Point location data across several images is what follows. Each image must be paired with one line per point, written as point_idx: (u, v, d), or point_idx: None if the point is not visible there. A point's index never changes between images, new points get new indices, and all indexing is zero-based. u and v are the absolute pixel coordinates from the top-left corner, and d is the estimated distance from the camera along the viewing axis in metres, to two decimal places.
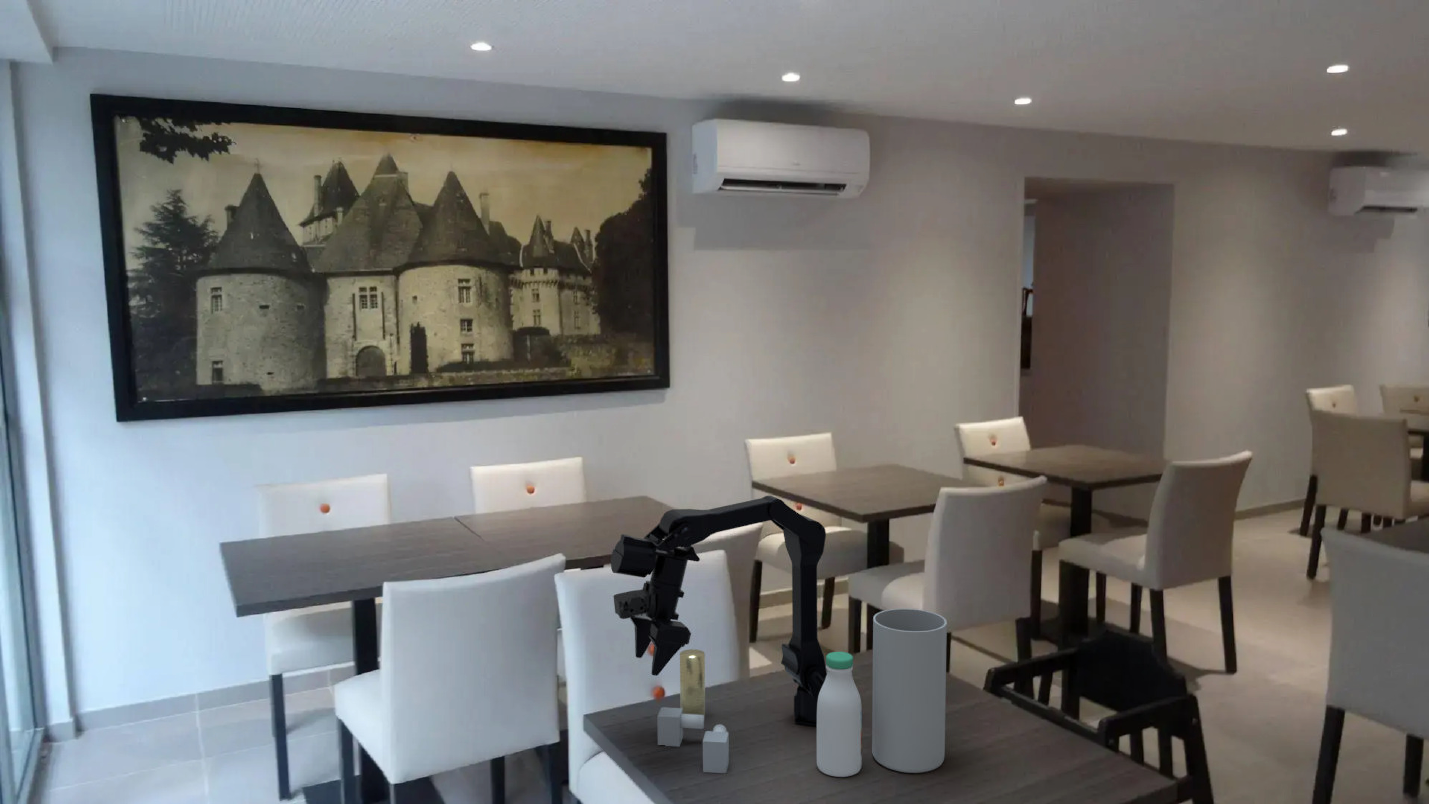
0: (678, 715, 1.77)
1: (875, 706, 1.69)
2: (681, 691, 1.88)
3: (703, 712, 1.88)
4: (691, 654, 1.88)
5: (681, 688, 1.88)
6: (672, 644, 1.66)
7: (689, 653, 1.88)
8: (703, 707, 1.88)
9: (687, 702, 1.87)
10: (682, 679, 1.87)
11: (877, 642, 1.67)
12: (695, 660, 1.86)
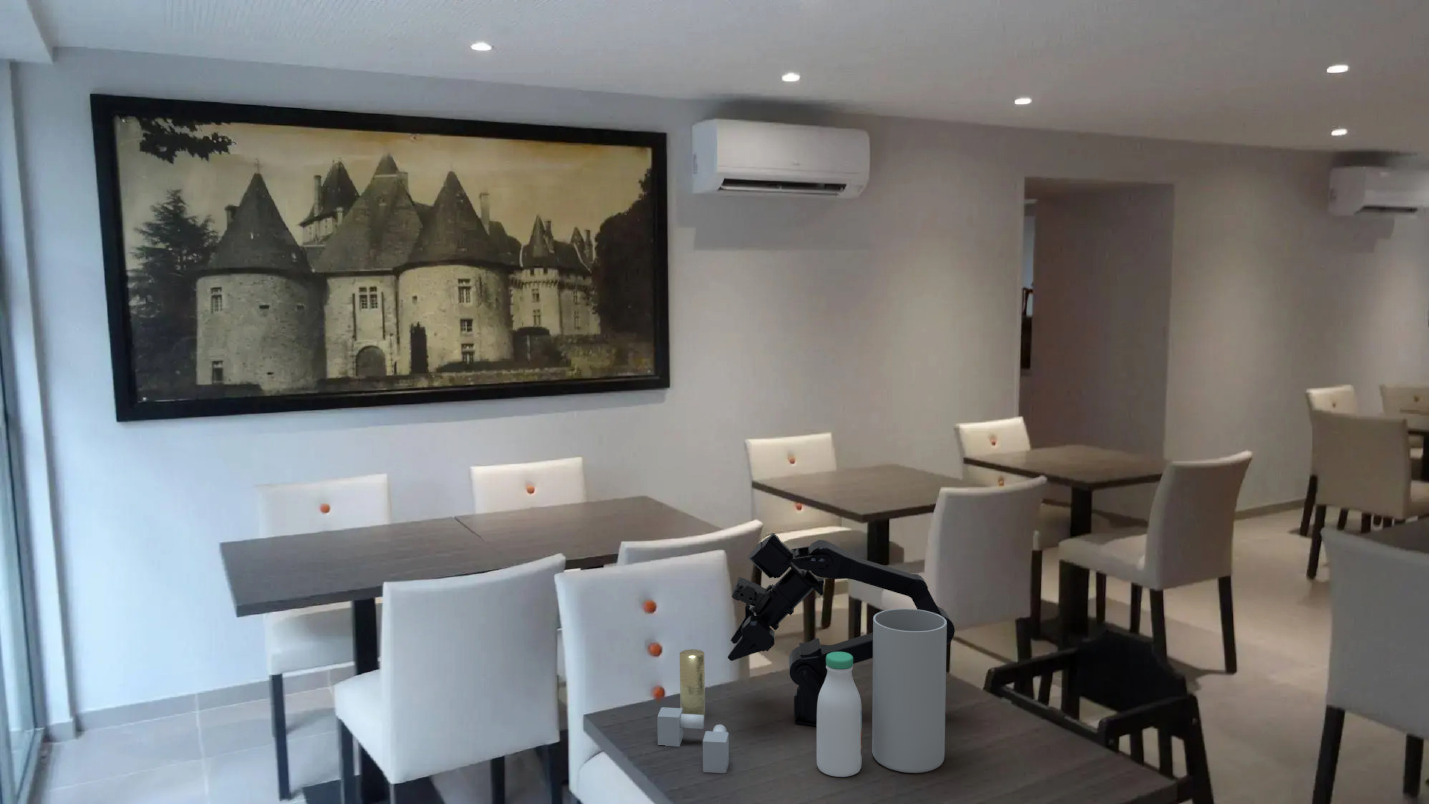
0: (678, 715, 1.77)
1: (875, 706, 1.69)
2: (681, 691, 1.88)
3: (703, 712, 1.88)
4: (691, 654, 1.88)
5: (681, 688, 1.88)
6: (754, 642, 1.78)
7: (689, 653, 1.88)
8: (703, 707, 1.88)
9: (687, 702, 1.87)
10: (682, 679, 1.87)
11: (877, 642, 1.67)
12: (694, 660, 1.86)
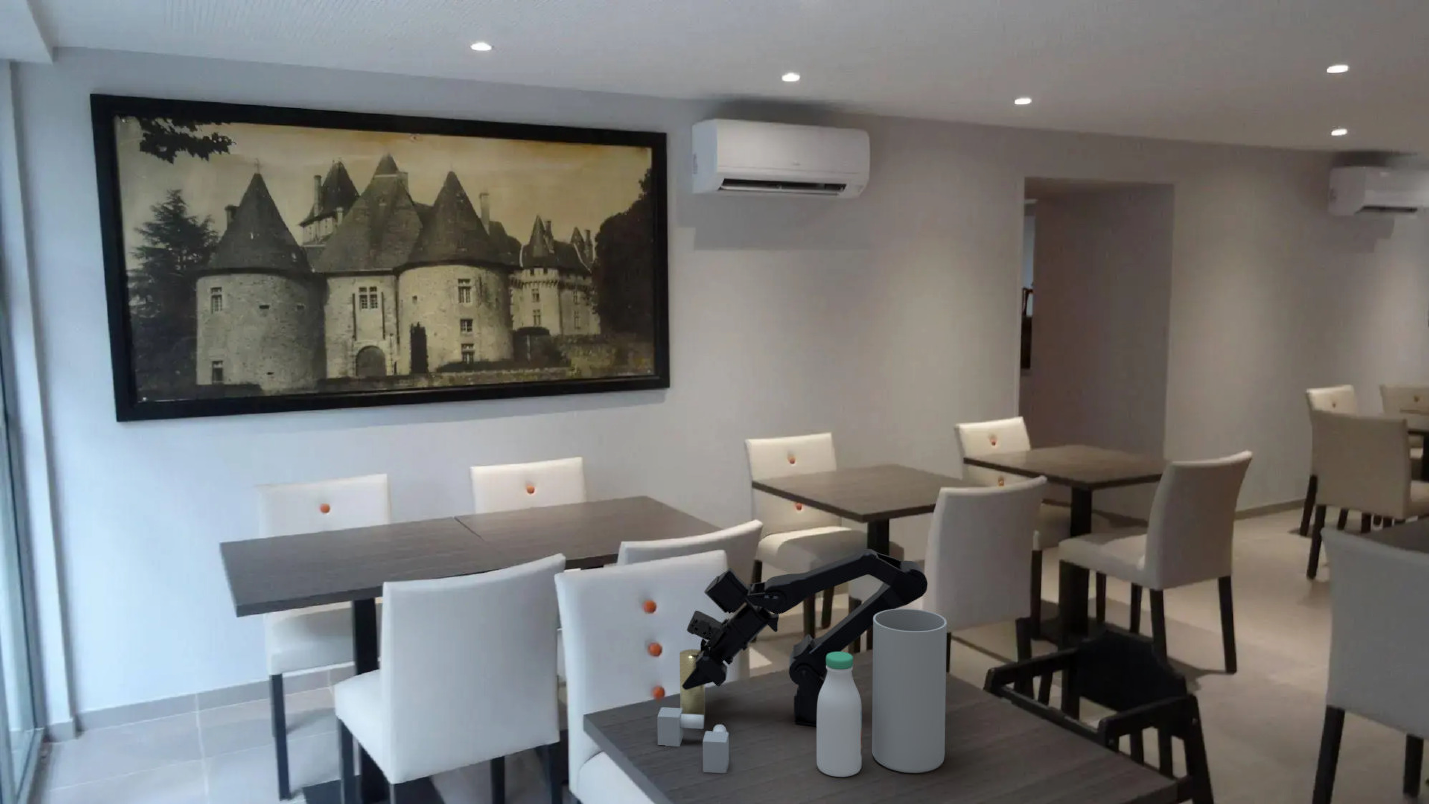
0: (678, 715, 1.77)
1: (875, 706, 1.69)
2: (681, 691, 1.88)
3: (703, 712, 1.88)
4: (691, 654, 1.88)
5: (681, 688, 1.88)
6: None
7: (689, 653, 1.88)
8: (703, 707, 1.88)
9: (687, 702, 1.87)
10: (682, 679, 1.87)
11: (877, 642, 1.67)
12: (694, 660, 1.86)
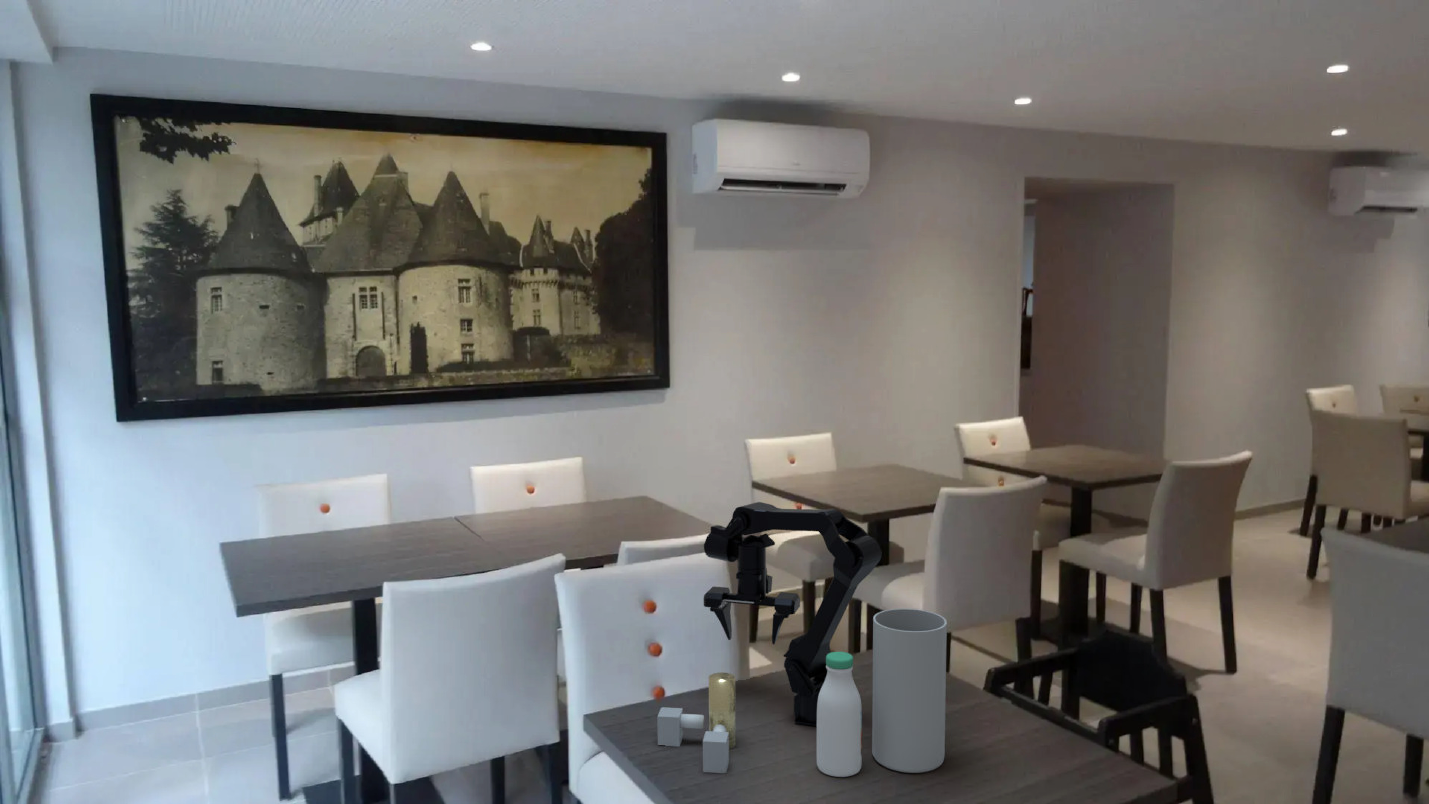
0: (678, 715, 1.77)
1: (875, 706, 1.69)
2: (716, 720, 1.75)
3: None
4: (723, 678, 1.76)
5: (716, 716, 1.75)
6: None
7: (719, 677, 1.76)
8: None
9: None
10: (719, 706, 1.74)
11: (877, 642, 1.67)
12: (732, 683, 1.75)
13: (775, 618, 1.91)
